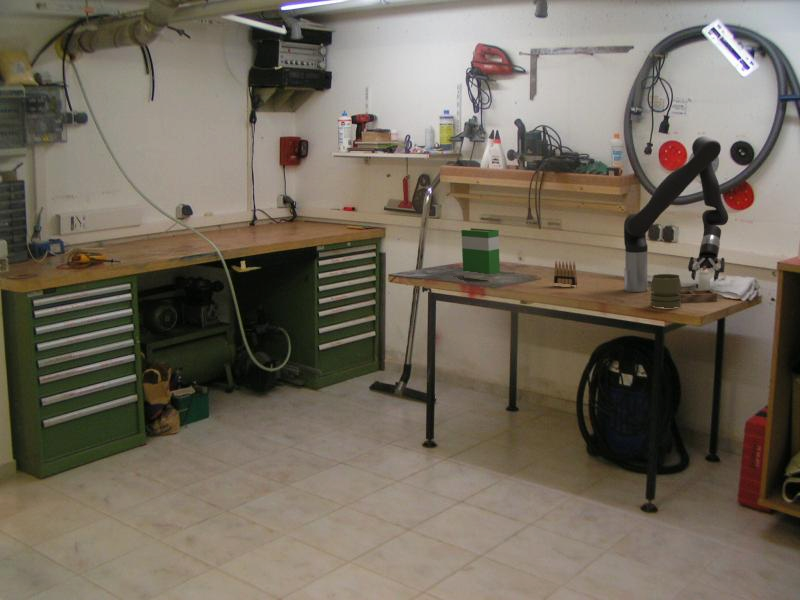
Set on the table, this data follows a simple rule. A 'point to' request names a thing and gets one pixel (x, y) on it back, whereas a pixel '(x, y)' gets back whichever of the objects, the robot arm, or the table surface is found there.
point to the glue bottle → (704, 279)
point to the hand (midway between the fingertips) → (704, 279)
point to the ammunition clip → (565, 273)
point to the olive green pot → (666, 291)
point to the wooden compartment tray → (698, 296)
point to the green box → (480, 251)
